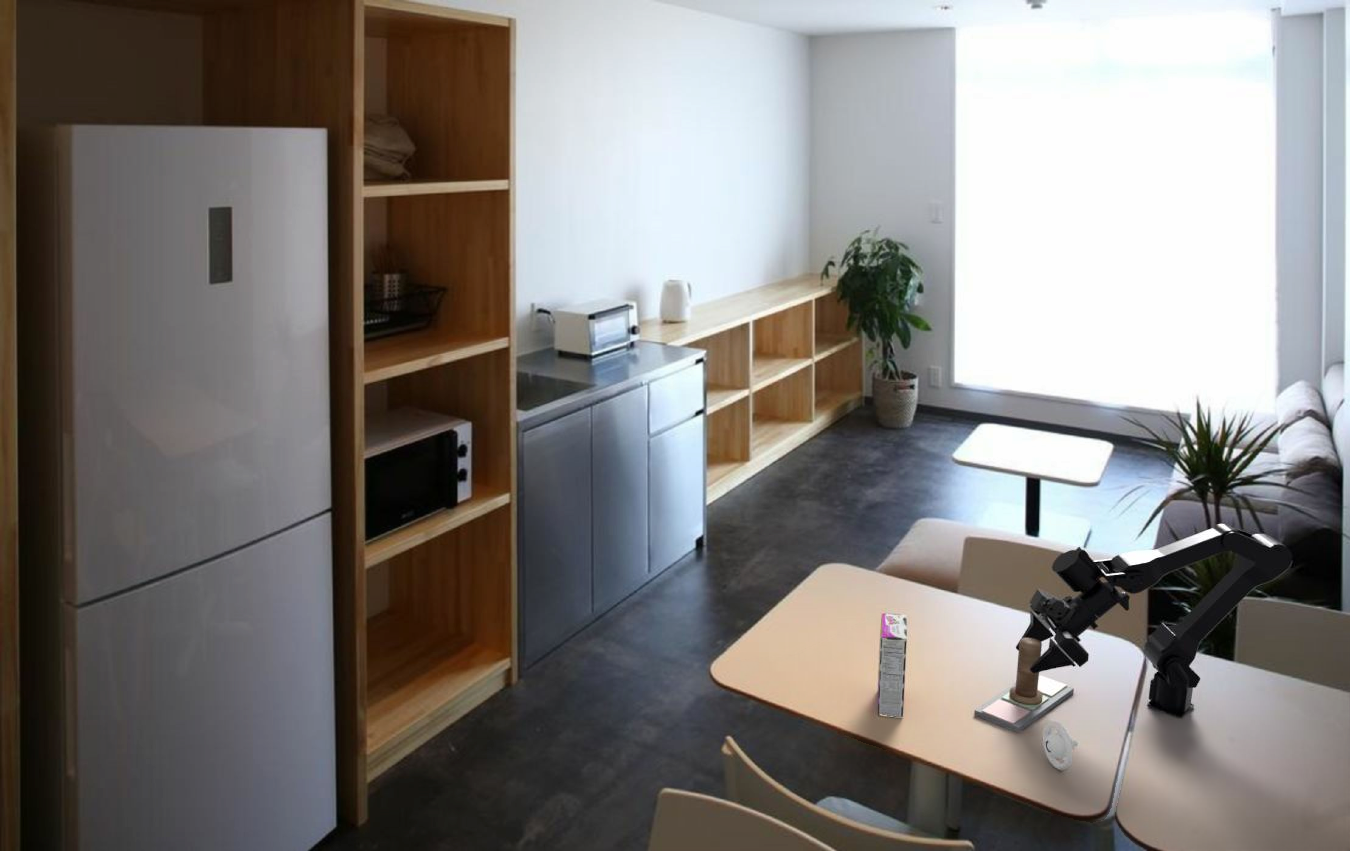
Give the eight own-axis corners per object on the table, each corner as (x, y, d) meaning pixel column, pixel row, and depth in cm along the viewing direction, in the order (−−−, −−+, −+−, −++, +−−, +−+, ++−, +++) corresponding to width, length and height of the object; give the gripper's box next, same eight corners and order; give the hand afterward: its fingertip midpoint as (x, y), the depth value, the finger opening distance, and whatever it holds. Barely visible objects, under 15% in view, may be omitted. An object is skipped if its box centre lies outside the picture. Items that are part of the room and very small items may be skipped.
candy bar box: (876, 689, 207) (881, 611, 203) (902, 691, 206) (907, 614, 202) (876, 716, 196) (880, 635, 193) (903, 719, 195) (908, 638, 192)
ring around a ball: (1033, 755, 183) (1037, 713, 182) (1062, 751, 185) (1066, 710, 183) (1059, 780, 176) (1063, 737, 174) (1089, 776, 177) (1094, 733, 175)
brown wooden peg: (1049, 701, 200) (1054, 645, 197) (1024, 707, 197) (1029, 651, 195) (1027, 687, 205) (1032, 633, 203) (1002, 693, 203) (1007, 638, 200)
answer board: (1073, 692, 206) (1074, 686, 206) (1018, 732, 191) (1019, 726, 191) (1030, 677, 212) (1031, 671, 212) (974, 714, 197) (974, 708, 197)
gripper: (1044, 560, 205) (983, 611, 208) (1076, 597, 186) (1009, 653, 189) (1081, 598, 206) (1020, 649, 209) (1117, 639, 188) (1049, 694, 191)
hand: (1024, 660), depth 200 cm, fingers open, 9 cm apart
